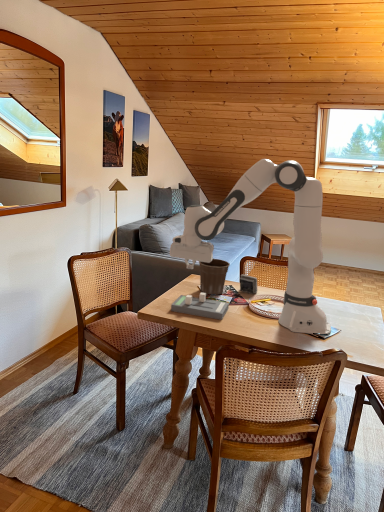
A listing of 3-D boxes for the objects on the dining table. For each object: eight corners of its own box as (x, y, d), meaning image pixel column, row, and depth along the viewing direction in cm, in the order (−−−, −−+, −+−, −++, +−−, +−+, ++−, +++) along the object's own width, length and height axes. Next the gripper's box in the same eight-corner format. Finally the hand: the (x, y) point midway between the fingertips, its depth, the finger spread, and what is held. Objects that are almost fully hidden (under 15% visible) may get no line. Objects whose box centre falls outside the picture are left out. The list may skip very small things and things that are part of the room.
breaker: (191, 302, 182) (192, 295, 181) (190, 304, 180) (190, 297, 179) (186, 302, 183) (187, 294, 182) (185, 303, 180) (185, 296, 179)
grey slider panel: (228, 308, 187) (228, 302, 186) (221, 319, 174) (222, 313, 173) (180, 300, 193) (180, 294, 192) (170, 310, 180) (171, 304, 179)
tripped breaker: (205, 300, 186) (206, 293, 185) (204, 302, 184) (204, 294, 183) (200, 299, 187) (201, 292, 186) (199, 301, 185) (199, 294, 184)
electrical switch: (257, 292, 212) (258, 276, 208) (253, 296, 207) (254, 279, 204) (241, 288, 216) (242, 273, 213) (237, 292, 212) (238, 276, 209)
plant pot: (224, 286, 217) (227, 258, 213) (229, 297, 202) (232, 267, 198) (195, 285, 216) (197, 257, 212) (197, 296, 201) (199, 266, 196)
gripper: (215, 241, 180) (213, 270, 183) (173, 235, 185) (171, 263, 189) (212, 244, 174) (209, 273, 178) (169, 238, 179) (167, 266, 183)
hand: (189, 268), depth 183 cm, fingers closed
